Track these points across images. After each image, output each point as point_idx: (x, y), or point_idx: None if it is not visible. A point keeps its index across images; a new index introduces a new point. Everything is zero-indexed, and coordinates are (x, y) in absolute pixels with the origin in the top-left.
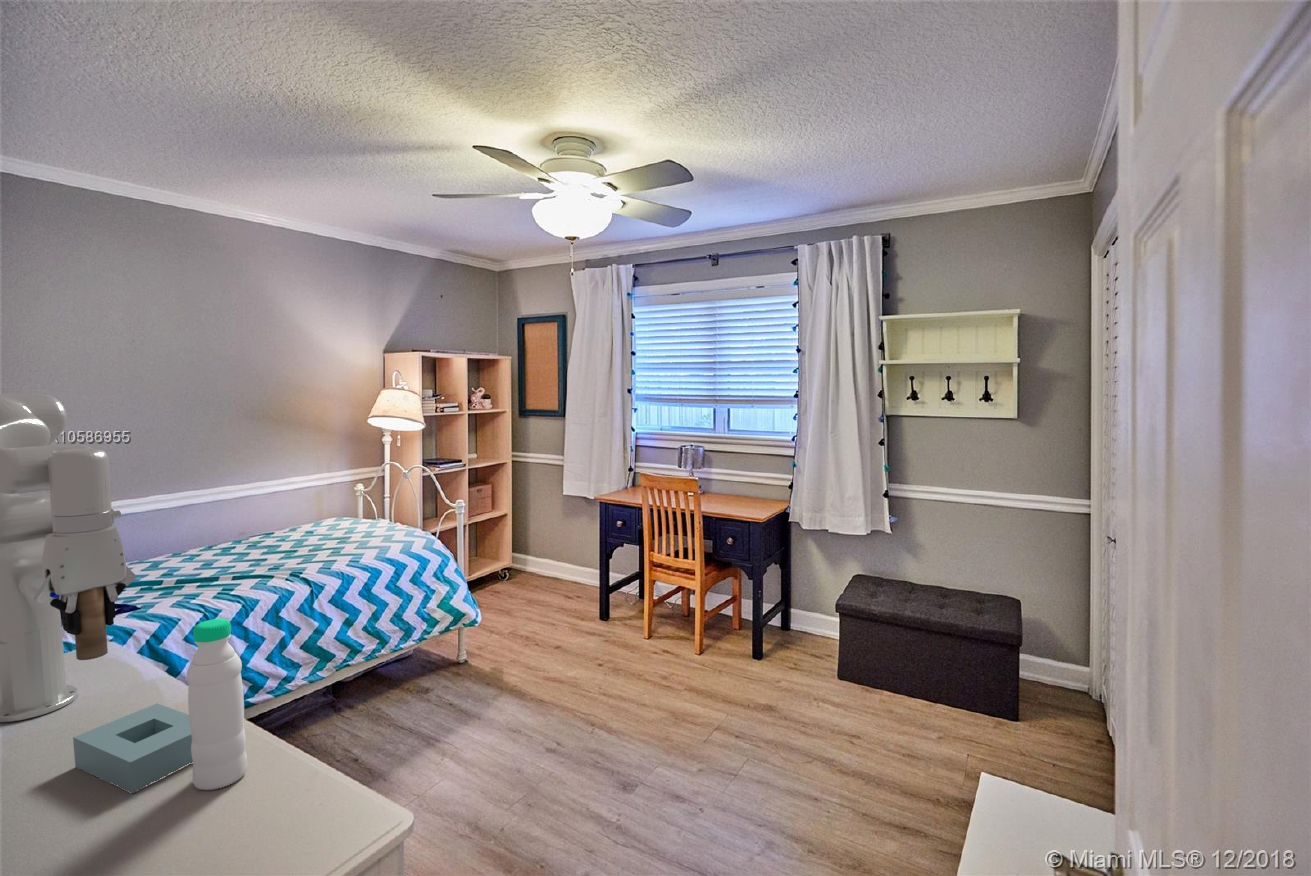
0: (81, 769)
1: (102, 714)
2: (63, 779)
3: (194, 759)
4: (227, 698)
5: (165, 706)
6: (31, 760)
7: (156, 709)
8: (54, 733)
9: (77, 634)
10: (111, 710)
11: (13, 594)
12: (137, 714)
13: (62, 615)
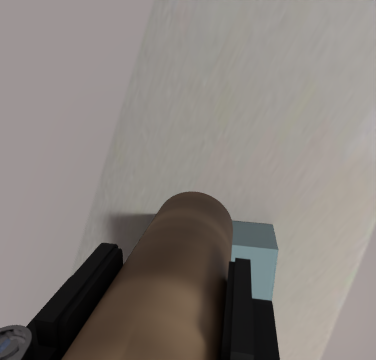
0: None
1: (278, 59)
2: (137, 229)
3: None
4: None
5: (274, 274)
6: (138, 131)
7: (260, 270)
8: (197, 60)
9: None
10: (296, 57)
11: None
12: (234, 257)
13: (31, 326)
